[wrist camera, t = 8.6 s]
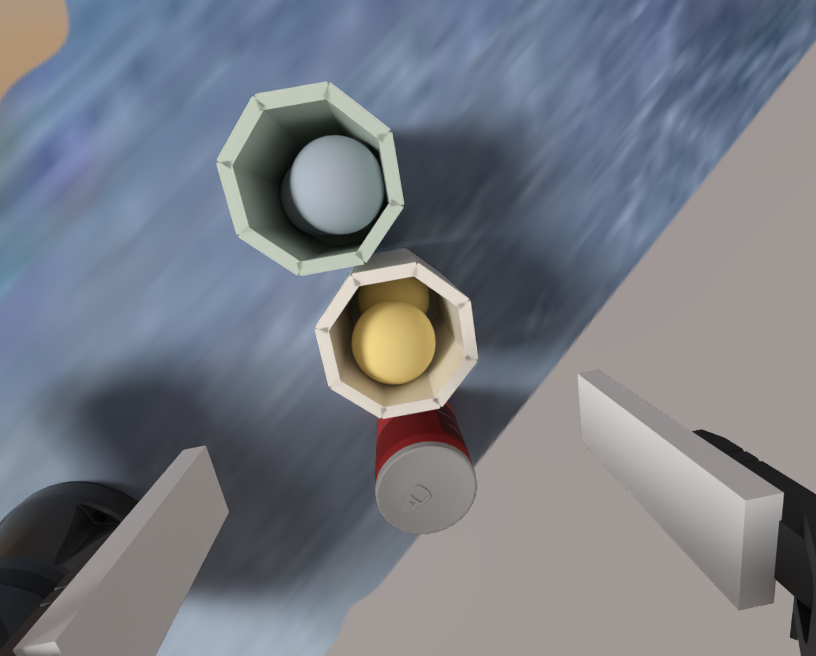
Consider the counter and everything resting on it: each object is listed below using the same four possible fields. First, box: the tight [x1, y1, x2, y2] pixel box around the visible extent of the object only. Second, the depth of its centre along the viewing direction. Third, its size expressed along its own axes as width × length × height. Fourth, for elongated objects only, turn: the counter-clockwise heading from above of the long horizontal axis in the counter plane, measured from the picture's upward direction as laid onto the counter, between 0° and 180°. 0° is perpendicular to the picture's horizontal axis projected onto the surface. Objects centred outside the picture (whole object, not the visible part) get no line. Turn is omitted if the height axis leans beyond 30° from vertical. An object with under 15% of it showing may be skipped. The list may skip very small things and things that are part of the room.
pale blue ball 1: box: [280, 166, 335, 237], centre depth 31 cm, size 6×6×6 cm
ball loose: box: [352, 301, 436, 385], centre depth 29 cm, size 6×6×6 cm
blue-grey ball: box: [290, 135, 385, 235], centre depth 26 cm, size 6×6×6 cm
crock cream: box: [315, 248, 478, 419], centre depth 31 cm, size 10×10×13 cm
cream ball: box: [358, 276, 429, 315], centre depth 34 cm, size 6×6×6 cm
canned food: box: [375, 402, 477, 534], centre depth 35 cm, size 8×8×11 cm
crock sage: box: [216, 82, 404, 276], centre depth 28 cm, size 10×10×13 cm
